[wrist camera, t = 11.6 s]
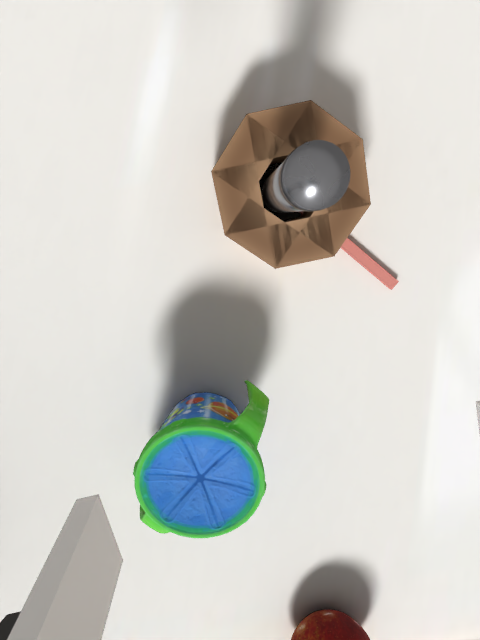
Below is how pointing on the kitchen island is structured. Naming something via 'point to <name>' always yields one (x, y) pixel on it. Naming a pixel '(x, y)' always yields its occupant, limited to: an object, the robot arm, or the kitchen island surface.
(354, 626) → the fruit
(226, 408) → the snack cup
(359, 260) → the pink stick
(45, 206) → the kitchen island surface
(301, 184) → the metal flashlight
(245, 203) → the bead
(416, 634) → the kitchen island surface
